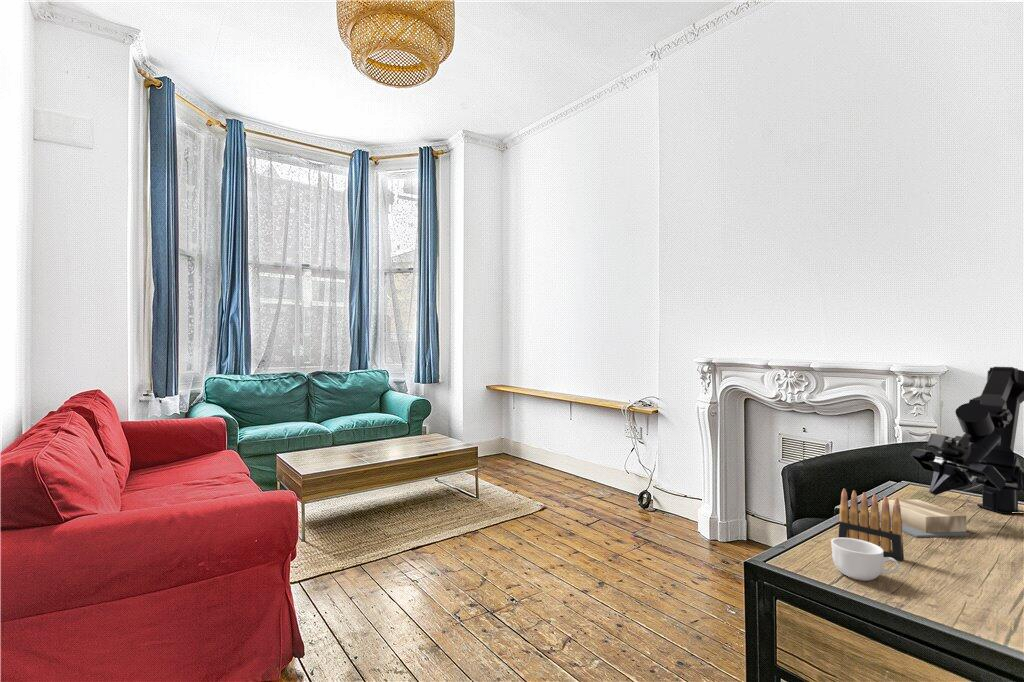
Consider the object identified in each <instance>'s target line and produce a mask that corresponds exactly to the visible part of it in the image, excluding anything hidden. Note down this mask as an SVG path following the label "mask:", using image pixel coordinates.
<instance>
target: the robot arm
mask: <svg viewBox="0 0 1024 682" xmlns="http://www.w3.org/2000/svg"><path fill="white" fill-rule="evenodd" d="M968 401H969V402H967V403H963V404H960V405H959V406H958V407H957V408H956V409H955V415H956V417H957V420H958V422H959V426H960V428H961V430H962V432H963V433H964V434H963V435H962V436H960V435H955V437H951V436H947V435H943V434H937V433H931V434H930V436H929V439H928V440H927V443H926V446H927V447H929V448H933V449H935V450H937V451H938V452H937V454H938V455H939V456H937V455H935V454H934V453H933V452H932V451H930V450H927V449H922V448H914V449H913V450H912V452H910V454H909V456H910V457H911V459H913V461H915V462H916V464H918V466H919V467H920V468H921V469H923V471H925V472H930V473H933V474H932V480H931V483H930V486H929V490H928V491H929V493H930V494H931V495H932V496H933V495H934V496H936V495H940V494H942V493H946V492H949V491H952V490H956V489H959V488H963V487H968V486H970V487H971V486H973V485H974V484H973V480H975V483H976V484H977V485H983V488H982V489H983V490H982V501H981V502H982V503H977V505H976V506H977V507H978V508H979V507H980V508H982V509H986V510H989V511H992V512H995V511H996V513H998V512H1000V513H999V514H1002V513H1012V512H1024V510H1021V509H1019V492H1024V469H1023V467H1022V466H1021V462H1020V461H1019V459H1018V457H1017V455H1016V453H1014V449H1015V443H1016V436H1017V435H1016V434H1017V429H1018V428H1017V427H1018V421H1019V413H1020V407H1021V404H1022V403H1023V402H1024V370H1021V369H1018V367H1017V368H1016V367H1013V366H993V367H991V366H990V367H989V370H987V376H986V383H985V385H984V387H983V390H982V392H981V394H980V395H979V396H976V397H974V398H972V399H971V398H970V399H969V400H968Z"/></svg>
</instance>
